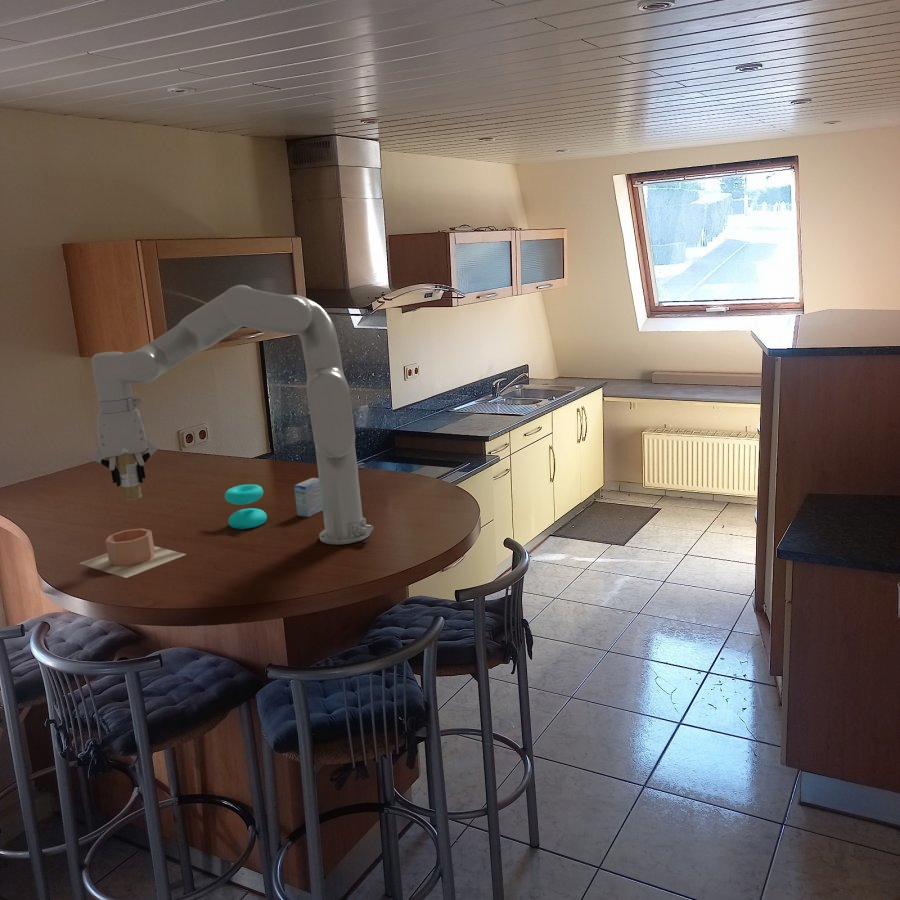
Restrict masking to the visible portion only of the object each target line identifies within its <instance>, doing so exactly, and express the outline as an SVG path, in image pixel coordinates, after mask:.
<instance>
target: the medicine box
mask: <svg viewBox="0 0 900 900" xmlns="http://www.w3.org/2000/svg"><path fill="white" fill-rule="evenodd" d="M293 488H294V489H293V490H294V497H295V504H296V513H297V516H300V517H307V518H310V517H312V516H314V515H316V514H319V513H320V512H323V509H322V500H321V492H320V483H319V477H311V478H308V479H306V480H304V481H301V482H299V483H297V484H295V485H294V486H293Z"/></svg>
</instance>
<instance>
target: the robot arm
mask: <svg viewBox="0 0 900 900" xmlns="http://www.w3.org/2000/svg"><path fill="white" fill-rule="evenodd" d="M244 327H245V328H251V329H255V330H261V331H266V332H272V333H277V334H283V335H287V336H288V335H292V336H293V335H295V336H297V335H298V337H299V340H300V342H301V348H302V352H303V353H302V354H303V359H304V364H305V371H306V396H307V402H308V403H307V404H308V410H309V417H310V421H311V429H312V435H313V436H312V437H313V443H314V447H315V449H314V450H315V456H316V465H317V472H318V473H317V474H318V478H319V483H320V492H321V500H322V509H323V511H322V516H323V524H324V529H323V530H322V531H321V532H320V533H319V534H318V535H319V536H318V537H319V541H320V542H322V543H324V544H326V545H327V544H328V545H338V546H339V545H347V544H354V543H357V542H361V541H363V540H365V539H367V538H369V536H370V535H371V534H372V531H374V525H372V524H367V518H366V517H364V515H363V510H362V498H361V489H360V481H359V480H360V479H359V469H358V467H359V466H358V462H357V461H358V459H357V453H356V452H357V451H356V443H355V442H356V430H355V422H354V415H353V406H352V402H351V401H352V399H351V393H350V388H349V383H348V381H347V379H346V376H345V373H344V368H343V362H342V361H343V360H342V354H341V349H340V344H339V339H338V334H337V331H336V327H335V324H334V323H333V320H332V319H331V316H330V315H329V314H328V313H327V312H326V310H325V309H324V308H323V307H322V306H321V305H320V304H318V303H317V302H316V301H313V300H312V299H309V298H307V297H304V296H303V295H298V294H280V293H275V292H270V291H264V290H261V289H255V288H252V287H250V286H249V285H246V284H237V285H234V286H232V287H230V288H228V289H227V290H226V291H224V292H223V293H221V294H219V295H218V296H216V297H214V298H213V299H212V300H210V301H208V302H207V303H205V304H204V305H202V306H200V307H199V308H196V309H195V310H194V311H192V312H191V313H189V314H188V315H186V316H185V317H183V318H182V319H181V320H180V322H178V323H177V324H176V325H175V326H174V327H172V328H171V329H170V330H169V329H168V331H166V332H165V333H163V334H161V335H160V336H159V337H157V338H155V339H154V340H152V341H150V342H149V343H148V344H146V345H143V346H141V347H140V348H138V349H135V350H133V351H129V352H123V351H117V350H116V351H105V352H99V353H95V354H94V355H93V356H92V357H91V361H90V362H91V368H92V374H93V380H94V381H93V382H94V386H95V390H96V397H97V402H98V403H97V404H98V408H99V413H98V414H96V430H97V431H96V432H97V438H98V445H97V447H96V448H95V450H94V452H93V453H92V456H91V459H92V461H94V462H97V463H98V464H100V465H102V466H104V467H106V468H107V469H109V471H110V472H111V479H112V484H116V487H117V488H118V487H121V486H120V481H119V475H118V469H117V464H116V457H118V456H121V455H122V454H125V453H128V454H135V458H136V462H137V469H138V475H139V481H140V484H142V483H144V479H146V474H145V473H146V472H145V467H144V466H145V464H146V462H148V460H149V459H150V457H151V456H152V455H154V454H155V453H156V452H157V451H158V447H157V446H156V445H155V444H154V443H153V442H152V441H151V440H150V439H149V438H148V437H147V434H146V431H145V427H144V426H145V425H144V421H143V419H142V415H141V412H140V409H138V408H136V407H137V406H138V405H142V402H141V398H136V397H134V394H133V387H132V384H148V383H152V382H154V381H155V380H156V379H157V378H159V377H160V376H161V375H163V374H164V373H166V372H167V371H169V370H170V369H173V368H174V367H175V366H177V365H179V363H182V362H183V361H185V360H186V359H188V358H190V357H191V356H194V355H196V354H197V353H200V352H204V351H206V350H207V349H209V348H211V347H213V346H214V345H215V344H218V342H220V341H222V340H224V339H226V338H227V337H228V336H230V335H231V334H233V333H234V332H236V331H238V330H239V329H241V328H244ZM123 448H126V449H127V450H128V452H125V453H121V451H122V449H123ZM142 453H143V454H142ZM106 458H109V459H106Z"/></svg>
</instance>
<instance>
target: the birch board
mask: <svg viewBox="0 0 900 900" xmlns="http://www.w3.org/2000/svg"><path fill="white" fill-rule="evenodd" d="M154 549H155V551H154V556H153V558H151V559H150V560H148V561H146V562H143V563H140V564H136V565H132V566H114V565H112V564H111V562H110V561H109V559H108V553H104V554H102V555H99V556H95V557H93V558H90V559H87V560H84V561H81V562H78V565H82V566H85V567H89V568H91V569H96V570H98V571H101V572H105V573H108V574H112V575H114V576H118V577H121V578H125V579H127V578H131V577H132V576H134V575H135V576H136V575H139V574H140V573H143V572H145V571H149V570H150V569H154V568H156V567H158V566H161V565H163V564H166V563H169V562H172V561H173V560H176V559H179V558H181V557H184V556H187V553H183V552H179V551H175V550H170V549H167V548H163V547H159V546H155V545H154Z"/></svg>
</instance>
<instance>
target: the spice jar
mask: <svg viewBox="0 0 900 900" xmlns="http://www.w3.org/2000/svg"><path fill="white" fill-rule="evenodd" d="M125 452H128V450H127V449H126V448H123V449H122V451H121V453H125ZM115 462H116V468H117V469H118V475H119V481H120V486H119V487H120V491H121V499H122V500H123V501H135V500H138V499H140V498H142V497H143V494H142V490H141V489H142V488H141V483H140V481H139V475H138V469H137V465H138V464H137V462H138V461H137V458H136V456H135V454H128V453H125V454H122V455H121V456H118V457H116V459H115Z"/></svg>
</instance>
